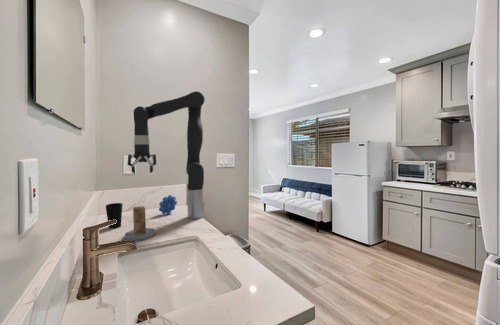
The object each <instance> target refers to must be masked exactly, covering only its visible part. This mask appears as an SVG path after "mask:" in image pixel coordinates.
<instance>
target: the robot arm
mask: <svg viewBox="0 0 500 325" xmlns="http://www.w3.org/2000/svg"><path fill="white" fill-rule="evenodd" d="M204 103H205V96H204V94H203V93H202V92H200V91H191V92H190V93H188V94H185V95H183V96H180V97H177V98H174V99H169V100H165V101H160V102H156V103H153V104H151V105H149V106H145V107H144V106H141V105H140V106H137V107H135V108H134V110H133V122H134V130H133V132H134V137H133V144H134V147H133V148H134V149H133V150H134V154H128V155H127V166H130V167H131V172H132V174H136V165H137V164H138V163H147V164H148V165H149V174H152V173H153V171H154V166H157V156H156V154H154V153H153V154H150V153H151V152H150V151H151V150H150V137H149V136H150V135H149V122H148V121H149V120H150V119H153V118H156V117H160V116H164V115H167V114H168V115H169V114H171V113H174V112H176V111H179V110H183V109H186V108H187V110H188V112H187V113H188V118H187V120H188V121H187V130H186V140H187V141H186V145H187V160H186V166H185V167H186V168H185V170H186V171H185V172H186V174H187V185H186V186H187V187H186V189H187V190H186V194H187V195H186V196H187V201H186V202H187V218H188V219H190V220H193V219H194V220H197V219H201V218H203V217H204V218H205V201H204V181H205V179H204V178H205V172H204V171H205V170H204V167H203V165H202V164H201V162H200V160H201V159H200V157H201V155H200V154H201V150H202V146H203V142H204V141H203V139H204V134H203V133H204V131H203V123H202V119H201V118H202V116H201V115H202V114H201V113H202V107H203V105H204ZM133 158H134V159H135V160H134V161H133V162H132V159H133ZM150 158H152V161H151V160H150Z"/></svg>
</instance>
